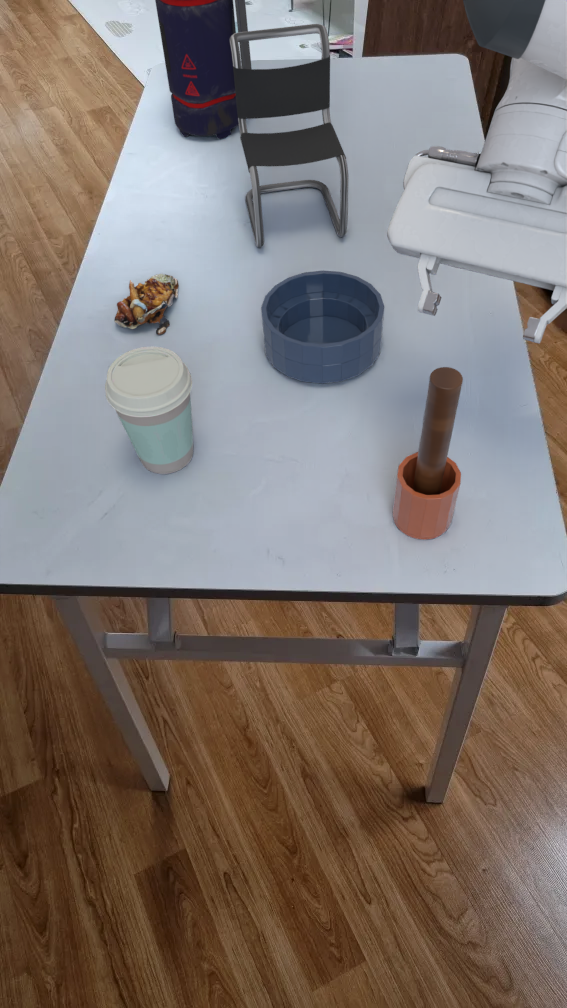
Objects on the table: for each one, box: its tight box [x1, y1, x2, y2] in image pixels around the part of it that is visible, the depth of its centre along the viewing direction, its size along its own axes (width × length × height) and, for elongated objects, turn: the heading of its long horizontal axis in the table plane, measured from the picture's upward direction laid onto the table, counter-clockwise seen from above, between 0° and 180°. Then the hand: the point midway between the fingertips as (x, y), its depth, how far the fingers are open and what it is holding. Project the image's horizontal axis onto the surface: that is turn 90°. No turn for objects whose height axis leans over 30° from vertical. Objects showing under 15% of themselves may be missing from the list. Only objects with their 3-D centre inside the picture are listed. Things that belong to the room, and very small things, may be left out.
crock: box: [392, 451, 462, 541], centre depth 70 cm, size 6×6×6 cm
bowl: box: [260, 269, 385, 384], centre depth 86 cm, size 14×14×6 cm
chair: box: [230, 23, 349, 248], centre depth 98 cm, size 13×17×22 cm
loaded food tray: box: [114, 272, 180, 336], centre depth 94 cm, size 7×12×4 cm, turn 173°
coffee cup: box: [104, 345, 194, 475], centre depth 74 cm, size 8×8×12 cm
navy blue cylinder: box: [154, 0, 253, 140], centre depth 114 cm, size 14×12×30 cm
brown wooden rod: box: [413, 366, 464, 495], centre depth 65 cm, size 3×3×18 cm
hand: (477, 326), depth 63 cm, fingers open, 8 cm apart
